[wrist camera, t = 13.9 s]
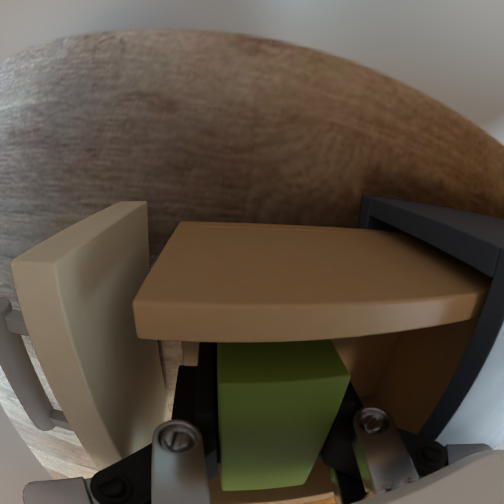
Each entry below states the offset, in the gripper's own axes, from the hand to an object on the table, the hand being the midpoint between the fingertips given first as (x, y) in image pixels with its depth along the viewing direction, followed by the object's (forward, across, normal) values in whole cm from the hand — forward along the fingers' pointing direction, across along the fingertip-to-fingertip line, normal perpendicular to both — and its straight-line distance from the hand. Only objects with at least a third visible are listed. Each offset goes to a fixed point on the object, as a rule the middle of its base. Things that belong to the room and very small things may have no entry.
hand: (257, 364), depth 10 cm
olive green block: (0, 0, 0) cm, 0 cm away
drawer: (+2, +1, 0) cm, 3 cm away
